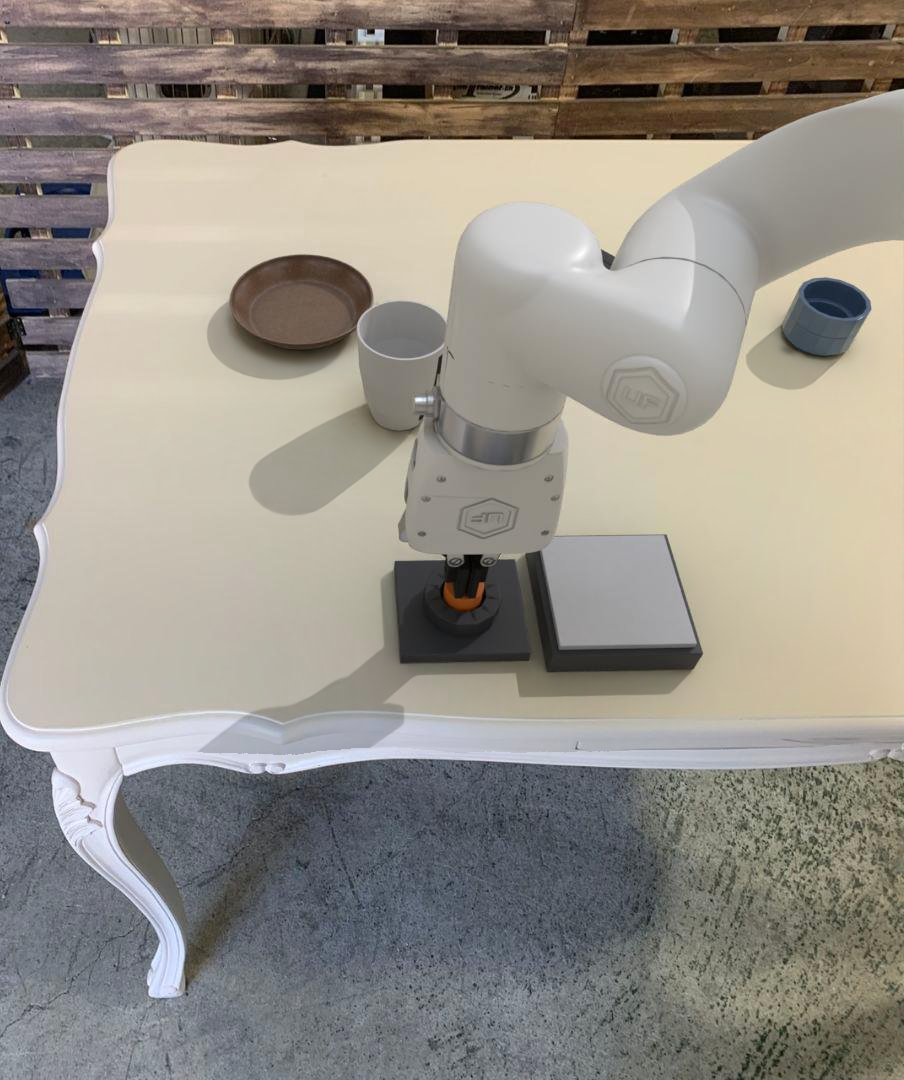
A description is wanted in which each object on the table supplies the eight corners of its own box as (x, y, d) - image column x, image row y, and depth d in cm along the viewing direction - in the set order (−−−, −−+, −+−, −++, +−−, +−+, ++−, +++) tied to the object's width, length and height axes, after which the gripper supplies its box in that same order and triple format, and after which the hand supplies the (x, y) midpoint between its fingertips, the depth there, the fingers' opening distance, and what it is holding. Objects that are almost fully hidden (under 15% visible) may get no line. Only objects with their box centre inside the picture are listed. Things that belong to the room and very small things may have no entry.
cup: (441, 443, 84) (451, 361, 76) (354, 441, 84) (355, 358, 76) (438, 384, 89) (448, 301, 81) (356, 381, 89) (358, 298, 81)
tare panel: (512, 567, 75) (518, 545, 73) (528, 661, 70) (535, 640, 67) (393, 568, 75) (395, 547, 72) (400, 663, 69) (402, 643, 67)
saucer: (209, 345, 91) (206, 324, 89) (262, 263, 100) (260, 241, 98) (347, 377, 89) (347, 356, 87) (389, 290, 98) (390, 268, 96)
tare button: (479, 580, 71) (481, 567, 70) (483, 612, 69) (486, 599, 68) (441, 581, 71) (443, 568, 70) (444, 612, 69) (446, 600, 68)
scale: (658, 551, 76) (669, 529, 74) (693, 669, 69) (706, 649, 67) (525, 553, 76) (531, 531, 74) (546, 672, 69) (554, 652, 67)
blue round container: (846, 323, 96) (868, 284, 92) (850, 365, 92) (874, 326, 88) (779, 311, 97) (798, 272, 93) (780, 352, 93) (800, 313, 89)
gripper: (377, 456, 52) (367, 626, 66) (632, 454, 52) (567, 623, 67) (372, 368, 56) (363, 545, 71) (607, 367, 57) (551, 543, 72)
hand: (462, 582), depth 69 cm, fingers closed
